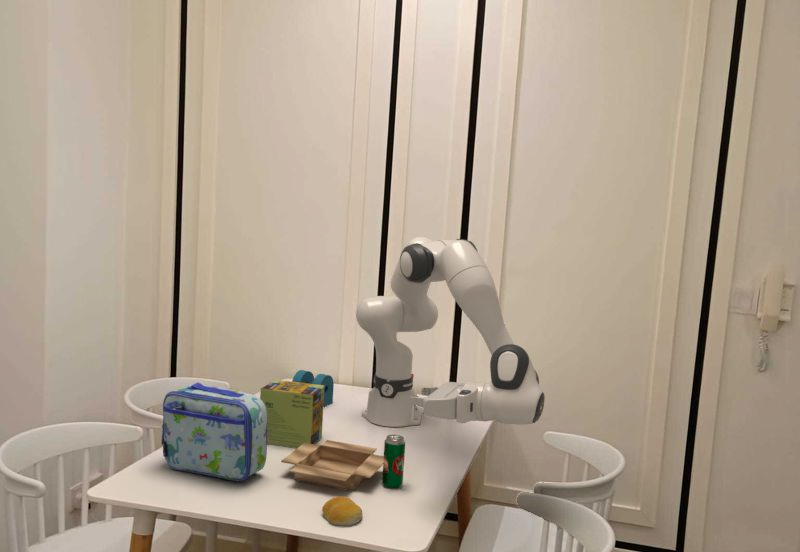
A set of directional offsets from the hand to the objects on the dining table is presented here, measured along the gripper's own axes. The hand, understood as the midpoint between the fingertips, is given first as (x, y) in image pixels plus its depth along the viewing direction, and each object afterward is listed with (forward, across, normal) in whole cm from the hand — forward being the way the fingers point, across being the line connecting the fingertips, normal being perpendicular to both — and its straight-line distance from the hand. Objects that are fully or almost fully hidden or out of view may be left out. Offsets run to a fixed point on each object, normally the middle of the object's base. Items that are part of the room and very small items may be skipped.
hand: (416, 395), depth 173 cm
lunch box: (+48, +14, +21) cm, 54 cm away
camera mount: (+52, -44, +19) cm, 70 cm away
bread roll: (+10, +22, +23) cm, 33 cm away
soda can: (+6, +1, +23) cm, 23 cm away
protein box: (+41, -14, +20) cm, 48 cm away
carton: (+20, +1, +22) cm, 30 cm away
